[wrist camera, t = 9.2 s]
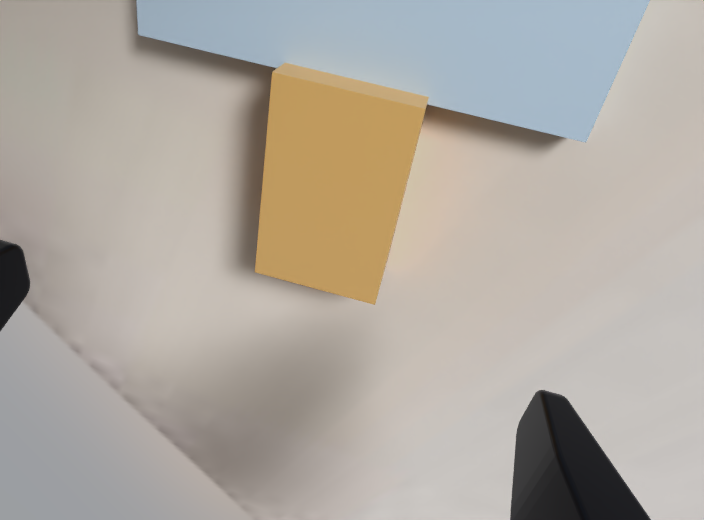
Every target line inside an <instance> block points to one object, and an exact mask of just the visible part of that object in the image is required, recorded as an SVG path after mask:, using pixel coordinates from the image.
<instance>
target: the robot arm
mask: <svg viewBox="0 0 704 520" xmlns="http://www.w3.org/2000/svg"><path fill="white" fill-rule="evenodd" d="M29 288H30V279H29V274H28V270H27V266H26V261H25V257H24V253H23V250H22V249H21V247H20V246H18V245H17V244H14V243H10V242H6V241H3V240H0V331H1V330H2V328H3V327H4V326H5V324H6V323H7V321H8V320H9V319H10V317H11V316H12V314H13V313H14V312H15V311H16V309H17V308H18V306H19V305H20V304H21V302H22V301H23V300H24V298H25V297H26V295H27V293H28V291H29ZM510 520H651V519H650V518H649V516H648V515H647V513H646V512H645V510H644V509H643V508H642V506H641V505H640V503H639V502H638V500H637V499H636V497H635V496H634V495H633V493H632V492H631V490H630V489H629V487H628V486H627V484H626V483H625V482H624V480H623V479H622V477H621V476H620V474H619V473H618V472H617V470H616V469H615V467H614V466H613V464H612V463H611V461H610V460H609V459H608V457H607V456H606V454H605V453H604V451H603V450H602V448H601V447H600V446H599V444H598V443H597V441H596V440H595V438H594V437H593V436H592V434H591V433H590V431H589V430H588V428H587V427H586V425H585V424H584V423H583V421H582V420H581V418H580V417H579V415H578V414H577V412H576V411H575V410H574V408H573V407H572V405H571V404H570V402H569V401H568V400H567V399H566V398H565V397H564V396H562V395H559V394H556V393H552V392H549V391H545V390H539V391H538V392H536V393H535V395H534V396H533V398H532V400H531V402H530V404H529V405H528V407H527V409H526V411H525V413H524V414H523V416H522V418H521V420H520V422H519V425H518V428H517V434H516V446H515V460H514V474H513V487H512V501H511V517H510Z"/></svg>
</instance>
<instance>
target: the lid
mask: <svg viewBox="0 0 704 520" xmlns="http://www.w3.org/2000/svg"><path fill="white" fill-rule="evenodd" d="M649 1H650V0H136V2H137V21H138V35H141V36H145V37H149V38H153V39H157V40H162V41H166V42H170V43H174V44H178V45H182V46H186V47H191V48H195V49H199V50H203V51H207V52H211V53H216V54H220V55H224V56H228V57H232V58H236V59H241V60H245V61H249V62H253V63H257V64H261V65H266V66H270V67H274V68H277V69H275V70H274V71H273V72H272V79H271V91H270V102H269V114H268V125H267V137H266V148H265V160H264V171H263V183H262V195H261V206H260V218H259V229H258V241H257V252H256V264H255V272H256V273H260V274H263V275H267V276H271V277H274V278H278V279H282V280H285V281H289V282H293V283H296V284H300V285H304V286H308V287H311V288H315V289H319V290H322V291H326V292H330V293H333V294H337V295H341V296H344V297H348V298H352V299H356V300H359V301H363V302H367V303H370V304H374V305H375V303H376V299H377V295H378V292H379V288H380V285H381V281H382V278H383V274H384V270H385V267H386V263H387V259H388V255H389V251H390V247H391V243H392V240H393V236H394V232H395V228H396V224H397V220H398V216H399V213H400V209H401V205H402V201H403V197H404V193H405V189H406V185H407V182H408V178H409V174H410V170H411V166H412V162H413V158H414V155H415V151H416V147H417V143H418V139H419V135H420V131H421V127H422V124H423V120H424V116H425V112H426V108H427V104H428V105H432V106H436V107H440V108H444V109H449V110H453V111H457V112H461V113H465V114H469V115H474V116H478V117H482V118H486V119H490V120H494V121H499V122H503V123H507V124H511V125H515V126H519V127H523V128H528V129H532V130H536V131H540V132H544V133H548V134H553V135H557V136H561V137H565V138H569V139H573V140H578V141H582V142H586V141H587V139H588V137H589V135H590V132H591V130H592V128H593V126H594V123H595V121H596V119H597V117H598V115H599V112H600V110H601V108H602V106H603V103H604V101H605V99H606V97H607V95H608V92H609V90H610V88H611V86H612V83H613V81H614V79H615V77H616V75H617V72H618V70H619V68H620V66H621V63H622V61H623V59H624V57H625V54H626V52H627V50H628V48H629V46H630V43H631V41H632V39H633V37H634V34H635V32H636V30H637V28H638V26H639V23H640V21H641V19H642V17H643V14H644V12H645V10H646V8H647V6H648V3H649Z"/></svg>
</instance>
